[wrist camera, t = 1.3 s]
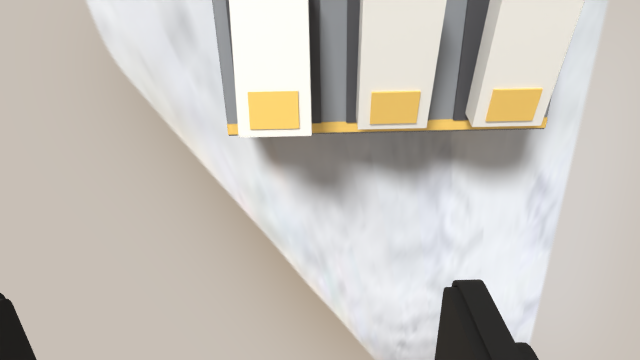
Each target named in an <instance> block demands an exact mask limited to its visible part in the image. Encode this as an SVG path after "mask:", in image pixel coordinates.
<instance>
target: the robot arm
mask: <svg viewBox="0 0 640 360" xmlns="http://www.w3.org/2000/svg"><path fill="white" fill-rule="evenodd" d="M0 360H36V357H35V355H34V353H33V350H32V348H31V346H30V344H29V341H28V339H27V336H26V334H25V332H24V330H23V327H22V325H21V323H20V320H19V318H18V316H17V313H16V311H15V309H14V306H13V305H12V302H11V301H10V300H9V299H6V298H5V297H4V295H3V294H1V293H0ZM435 360H539V359H538V358H537V356H536V354H535V352H534V351H533V349H532V348H531V347H530V346H529V345H528V344H527V343H522V342H521V343H515V342H514V340H513V338H512V336H511V334H510V332H509V330H508V328H507V326H506V324H505V322H504V320H503V319H502V317H501V315H500V313H499V311H498V309H497V307H496V305H495V303H494V301H493V299H492V297H491V295H490V293H489V292H488V290H487V288H486V286H485V284H484V282H483V281H482V280H455V281H453V283H452V287H446V288H445V289H444V292H443V299H442V307H441V315H440V322H439V330H438V338H437V346H436V354H435Z"/></svg>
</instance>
